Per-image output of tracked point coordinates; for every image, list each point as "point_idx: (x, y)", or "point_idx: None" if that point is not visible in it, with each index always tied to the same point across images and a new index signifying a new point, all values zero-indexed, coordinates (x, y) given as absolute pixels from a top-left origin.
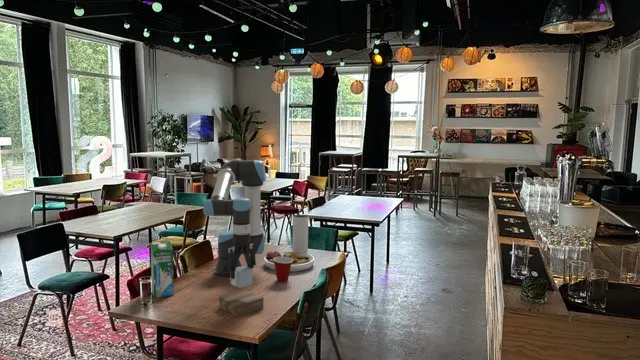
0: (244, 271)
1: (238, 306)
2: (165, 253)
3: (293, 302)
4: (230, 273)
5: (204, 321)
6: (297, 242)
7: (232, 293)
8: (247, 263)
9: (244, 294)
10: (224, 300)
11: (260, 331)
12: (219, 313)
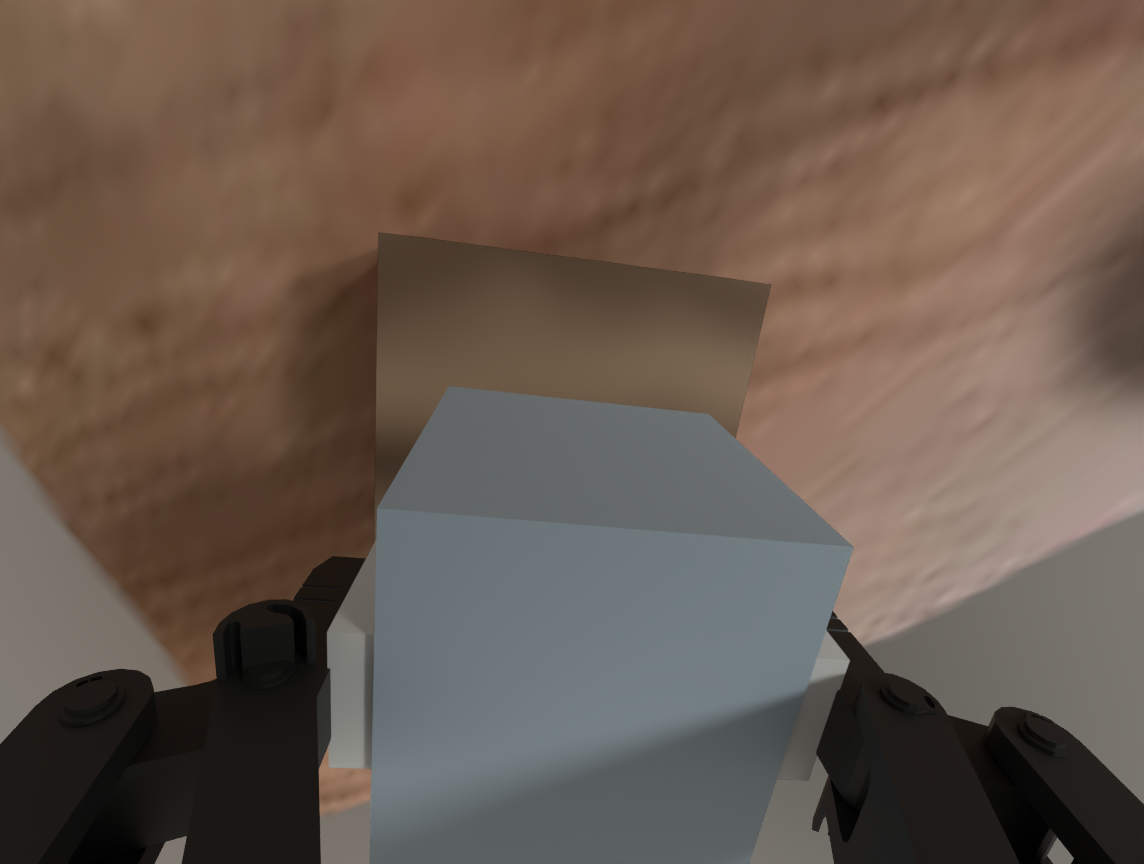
0: (516, 857)
1: None
2: None
3: (900, 627)
4: (409, 458)
5: (114, 391)
6: None
7: (576, 267)
8: (873, 799)
9: (644, 405)
10: (380, 346)
11: (362, 786)
12: (325, 352)
